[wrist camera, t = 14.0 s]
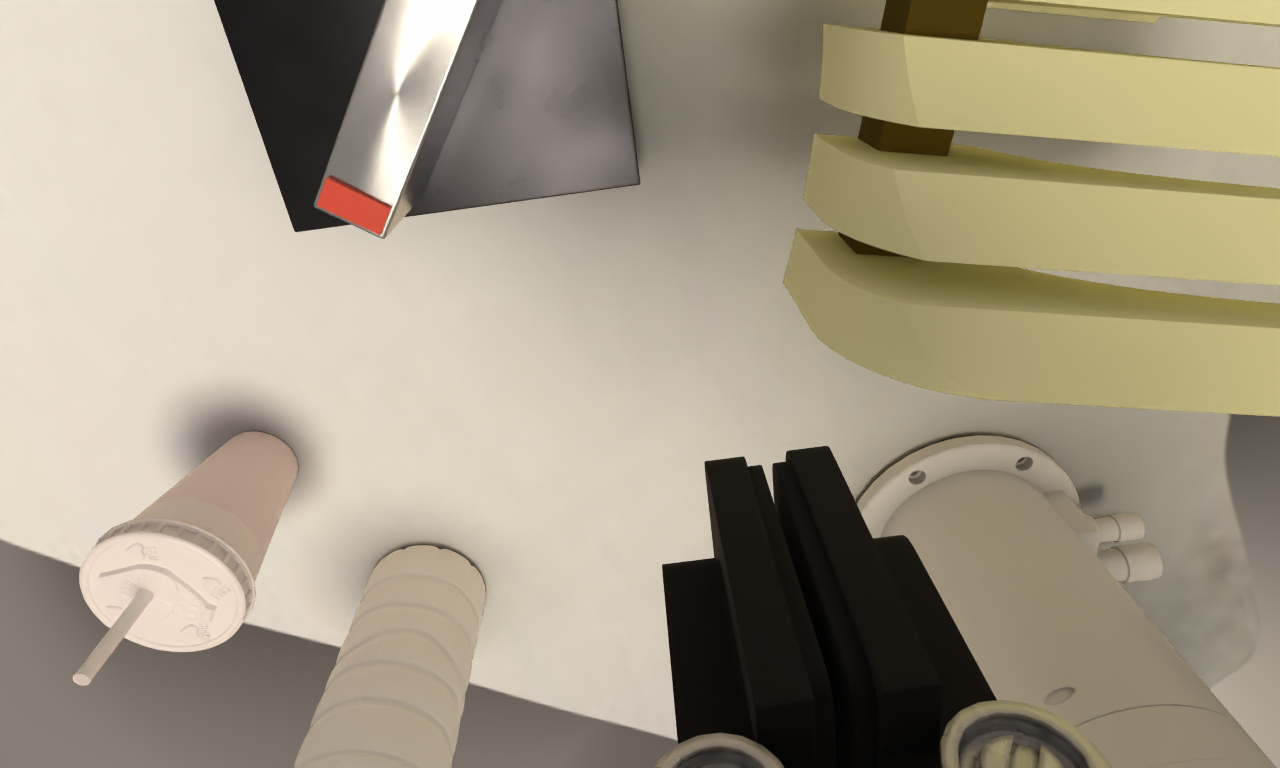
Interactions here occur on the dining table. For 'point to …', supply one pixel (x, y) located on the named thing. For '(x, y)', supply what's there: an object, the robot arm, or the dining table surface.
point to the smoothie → (190, 553)
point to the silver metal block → (402, 109)
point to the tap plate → (486, 117)
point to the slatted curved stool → (1041, 214)
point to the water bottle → (401, 667)
